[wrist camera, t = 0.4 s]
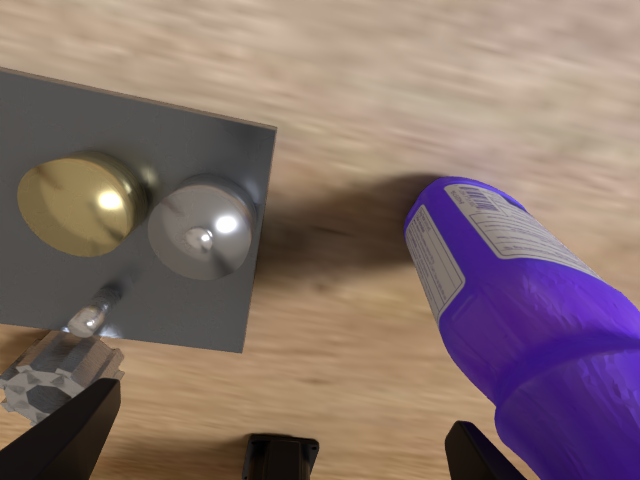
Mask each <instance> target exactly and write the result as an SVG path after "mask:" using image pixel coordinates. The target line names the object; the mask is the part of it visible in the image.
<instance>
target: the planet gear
mask: <svg viewBox="0 0 640 480" xmlns="http://www.w3.org/2000/svg"><path fill="white" fill-rule="evenodd" d="M100 337H101V336H97V335H91V336H90V337H86V338H83V337H78V336H76V335H74V334H72V333H68V332H65V331H57V330H51V331H50V332H49V333H48V334H47V335H46V336H45V337H44V338H43V339H42V340H38V339H37V340H36V341H35V342H34V343H33V344H32V345H31V346H30V347H29V348H28V349H27V350H26V351H25V352H24V353H23V354H22V355H21V356H20V357H19V358H18V359H17V360H16V361H15V362H14V363H13V364H12V365H11V366H10V367H9V368H8V369H7V370H6V371H5V372H4V373H3V374H2V375H1V376H0V388H1V389H4V392H5V395H6V398H5V399H4V400H3V401H2V402H1V403H0V404H1V405H2V406H3V407H4V408H5V409H6V410H7V412H13V411H16V412H18V413H19V414H21V415H23V416H24V417H26V418H28V419H30V420H31V423H30V425H32V426H35V425H36V424H38V423H39V422H40V421H42V420H43V419H45V418H46V417H47V416H49V415H50V414H51V413H53V412H54V411H55V410H57V409H58V408H60V407H61V406H62V405H64V404H65V403H66V402H68V401H69V400H71V399H72V398H73V397H75V396H76V395H77V394H79V393H80V392H82V391H83V390H84V389H86V388H87V387H88V386H90V385H91V384H93V383H94V382H95V381H97V380H98V379H100V378H104V377H106V378H114V379H118V380H119V381H120V380H121V379H122V377H123V375H124V374H125V373H124V372H122V371H119V370H118V367H119V365H120V363H121V362H122V360H123V359H124V356H123V355H122V353H121V352H120V350H119V349H116V350H112V349H110V348H109V347H108V346H106V345H105V344H104V343H103V342H101V341H100V340H99V339H100Z"/></svg>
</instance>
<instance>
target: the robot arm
mask: <svg viewBox="0 0 640 480" xmlns="http://www.w3.org/2000/svg"><path fill="white" fill-rule="evenodd" d="M120 403H121V393H120V381H119V380H118V379H114V378H106V377H104V378H100V379H98V380H97V381H95V382H94V383H93V384H91V385H90V386H88V387H87V388H86V389H84V390H83V391H82V392H80V393H79V394H77V395H76V396H75V397H73V398H72V399H71V400H69V401H68V402H66V403H65V404H64V405H62V406H61V407H60V408H58V409H57V410H55V411H54V412H53V413H51V414H50V415H49V416H47V417H46V418H45V419H43V420H42V421H40V422H39V423H38V424H36V425H35V426H34V427H32V428H31V429H29V430H28V431H27V432H25V433H24V434H23V435H21V436H20V437H18V438H17V439H16V440H14V441H13V442H12V443H10V444H9V445H8V446H6V447H5V448H3V449H2V450H1V451H0V480H89V478H90V475H91V473H92V471H93V469H94V467H95V464H96V462H97V460H98V457H99V455H100V453H101V450H102V448H103V446H104V443H105V441H106V439H107V436H108V434H109V432H110V430H111V427H112V425H113V423H114V420H115V418H116V416H117V413H118V411H119V408H120ZM318 451H319V442H317V441H313V440H302V439H291V438H280V437H269V436H258V435H253V436H251V437H250V438H249V442H248V447H247V452H246V458H245V463H244V468H243V473H242V479H243V480H310V474H311V471H312V468H313V466H314V463H315V460H316V457H317V454H318ZM445 451H446V456H447V461H448V466H449V471H450V476H451V480H527V479H526V478H525V477H524V476H523V475H522V474H521V473H520V472H519V471H518V470H517V469H516V468H515V467H514V466H513V465H512V464H511V463H510V462H509V461H508V459H507V458H506V457H505V456H504V455H503V454H502V453H501V452H500V451H499V450H498V449H497V448H496V447H495V446H494V445H493V444H492V443H491V442H490V441H489V440H488V439H487V438H486V437H485V435H484V434H483V433H482V432H481V431H480V430H479V429H478V428H477V427H476V426H475V425H474V424H473V423H471V422H468V421H460V420H459V421H456V422H455V423H454V425H453V426H452V428H451V430H450V431H449V433H448V435H447V436H446V439H445Z"/></svg>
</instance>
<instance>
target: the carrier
mask: <svg viewBox="0 0 640 480" xmlns="http://www.w3.org/2000/svg"><path fill="white" fill-rule="evenodd" d="M276 133H277V127H275V126H270V125H266V124H261V123H256V122H252V121H247V120H242V119H238V118H233V117H229V116H224V115H219V114H215V113H210V112H206V111H201V110H196V109H192V108H187V107H183V106H178V105H173V104H169V103H164V102H159V101H155V100H150V99H146V98H141V97H136V96H132V95H127V94H123V93H118V92H113V91H109V90H104V89H100V88H95V87H90V86H86V85H81V84H76V83H72V82H67V81H63V80H58V79H53V78H49V77H44V76H40V75H35V74H30V73H26V72H21V71H17V70H12V69H7V68H3V67H0V323H1V324H9V325H17V326H25V327H33V328H41V329H49V330H57V331H65V332H71V333H72V334H74V335H76V336H78V337H83V338H86V337H90V336H91V335H97V336H106V337H114V338H122V339H130V340H138V341H146V342H154V343H162V344H170V345H178V346H186V347H194V348H202V349H211V350H219V351H227V352H235V353H242V351H243V346H244V341H245V335H246V328H247V322H248V315H249V309H250V302H251V296H252V289H253V283H254V276H255V270H256V263H257V257H258V250H259V244H260V237H261V231H262V224H263V218H264V211H265V205H266V198H267V192H268V185H269V179H270V172H271V166H272V159H273V153H274V146H275V140H276Z"/></svg>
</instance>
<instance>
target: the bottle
mask: <svg viewBox="0 0 640 480" xmlns="http://www.w3.org/2000/svg"><path fill="white" fill-rule="evenodd" d="M404 238H405V242H406V244H407V246H408V249H409V252H410V254H411V257H412V260H413V262H414V265H415V268H416V270H417V273H418V276H419V278H420V281H421V284H422V286H423V289H424V291H425V294H426V297H427V299H428V302H429V305H430V307H431V310H432V313H433V316H434V318H435V321H436V323H437V326H438V329H439V331H440V334H441V336H442V339H443V342H444V345H445V347H446V349H447V351H448V353H449V354H450V356H451V358H452V359H453V361H454V362H455V363H456V365H457V366H458V367H459V368H460V369H461V371H462V372H463V373H464V374H465V375H466V376H467V377H468V379H469V380H470V381H471V382H472V383H473V384H474V385H475V386H476V387H477V388H478V389H479V390H480V391H481V392H482V393H483V394H484V395H485V396H487V398H488V399H489V400H490V401H492V402H493V403H494V405H495V406H496V410H495V418H494V419H495V426H496V430H497V433H498V435H499V437H500V439H501V441H502V442H503V443H504V444H505V445H506V446H507V447H509V448H510V449H511V450H512V451H513V452H514V453H516V454H517V455H518V456H519V457H520V458H521V459H522V460H524V461H525V462H526V463H527V464H528V466H529V467H530V468H531V469H532V470H533V471H534V472H535V473H536V474H537V476H538V477H539V478H540V479H541V480H640V312H639V311H638V310H637V308H636V307H635V306H634V305H633V304H632V303H631V302H630V301H629V300H628V299H627V298H626V297H625V296H624V295H623V294H622V293H621V292H619V291H618V290H616V289H614V288H613V287H611V286H610V285H609V284H608V283H606V282H605V281H604V280H603V279H602V278H601V277H599V276H598V275H597V274H596V273H595V272H594V271H593V270H592V269H590V268H589V267H588V266H587V265H586V264H585V263H584V262H582V261H581V260H580V259H579V258H578V257H577V256H576V255H574V254H573V253H572V252H571V251H570V250H569V249H568V248H567V247H565V246H564V245H563V244H562V243H561V242H560V241H559V240H558V239H557V238H555V237H554V236H553V235H552V234H551V233H550V232H549V231H548V230H547V229H545V228H544V227H543V226H542V225H541V224H540V223H539V222H538V221H537V220H536V219H535V218H534V217H533V216H531V215H530V214H529V213H528V212H527V211H526V210H525V208H524V207H523V206H522V205H521V204H520V203H518V202H517V201H516V200H515V199H513V198H512V197H510V196H509V195H507V194H506V193H504V192H502V191H500V190H498V189H496V188H494V187H492V186H490V185H487V184H485V183H482V182H479V181H476V180H472V179H468V178H464V177H441V178H439V179H437V180H435V181H434V182H432V183H431V184H430V185H428V186H427V187H426V188H425V189H424V190H423V191H422V192H421V193H420V195H419V196H418V198H417V200H416V202H415V204H414V205H413V206H412V208H411V210H410V211H409V213H408V215H407V217H406V220H405V223H404Z"/></svg>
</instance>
